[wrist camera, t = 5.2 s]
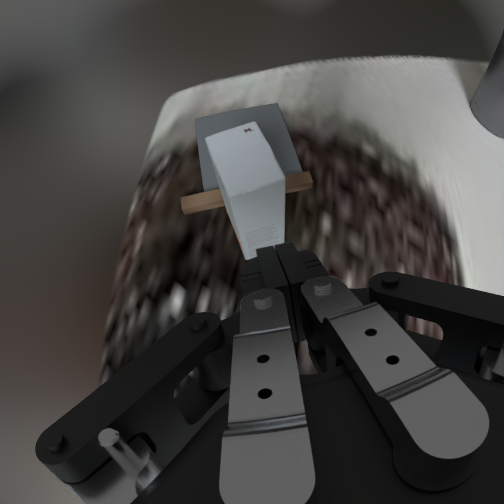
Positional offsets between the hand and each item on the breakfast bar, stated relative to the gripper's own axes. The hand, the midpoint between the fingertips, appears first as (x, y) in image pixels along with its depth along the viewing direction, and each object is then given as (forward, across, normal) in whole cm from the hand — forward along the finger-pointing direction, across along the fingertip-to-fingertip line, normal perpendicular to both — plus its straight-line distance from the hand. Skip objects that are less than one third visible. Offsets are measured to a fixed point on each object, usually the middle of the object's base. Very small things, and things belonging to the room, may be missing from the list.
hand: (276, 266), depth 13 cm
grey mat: (+27, -1, -4) cm, 28 cm away
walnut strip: (+22, 0, +2) cm, 22 cm away
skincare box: (+19, 0, +5) cm, 20 cm away
